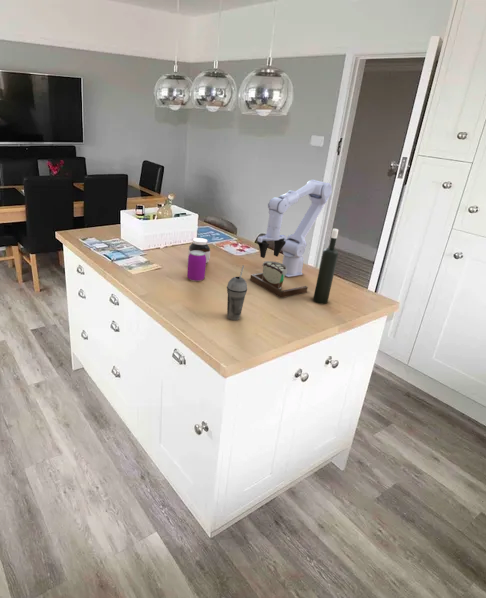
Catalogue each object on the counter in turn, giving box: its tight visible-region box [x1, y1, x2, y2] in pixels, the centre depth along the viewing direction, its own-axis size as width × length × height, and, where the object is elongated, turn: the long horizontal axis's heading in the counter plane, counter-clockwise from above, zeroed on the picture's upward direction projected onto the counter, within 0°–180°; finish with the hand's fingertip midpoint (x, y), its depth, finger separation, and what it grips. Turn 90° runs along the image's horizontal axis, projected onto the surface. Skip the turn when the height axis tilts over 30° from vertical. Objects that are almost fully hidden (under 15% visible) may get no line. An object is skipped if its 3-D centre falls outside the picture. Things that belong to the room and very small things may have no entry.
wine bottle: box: [312, 228, 340, 305], centre depth 163 cm, size 6×6×30 cm
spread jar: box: [187, 237, 211, 265], centre depth 196 cm, size 12×11×12 cm
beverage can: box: [186, 250, 207, 283], centre depth 179 cm, size 8×8×12 cm
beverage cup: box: [226, 265, 248, 321], centre depth 146 cm, size 7×7×20 cm
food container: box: [261, 260, 287, 291], centre depth 178 cm, size 12×6×10 cm, turn 35°
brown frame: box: [249, 272, 309, 298], centre depth 180 cm, size 15×20×2 cm
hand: (269, 256), depth 184 cm, fingers open, 7 cm apart
